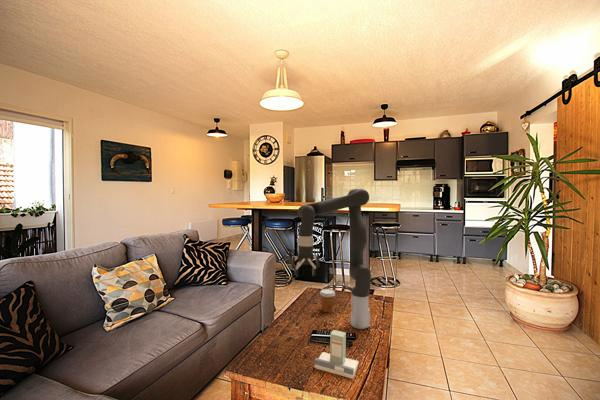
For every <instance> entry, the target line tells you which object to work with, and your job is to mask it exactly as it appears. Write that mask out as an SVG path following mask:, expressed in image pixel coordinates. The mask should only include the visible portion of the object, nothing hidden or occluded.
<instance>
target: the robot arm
mask: <svg viewBox="0 0 600 400" xmlns="http://www.w3.org/2000/svg"><path fill="white" fill-rule="evenodd" d="M369 201H370V194H369V192H368V191H367V190H366V189H363V188H353V189H350V190H349V191H348V193H347V195H344V196H343V195H342V196H338V197H332V198H327V199H324V200H320V201H317V202H313V203H307V204H303V205H301V206H300V207H298V208H297V215H298V216H299V218H301V224H299V229H298V242H297V244H298V248H297V252H298V253H297V255H296V256H295V255H291V264H290V265H291V268H292V269H294V275H295V276H296V278H298V277H299V268H300V267H301V266H305V265H307V266H309V265H311V267H312V268H311V273H312V274H311V275H312V277H315V276H316V273H317V268H320V267H321V266H320V265H321V264H320V256H319V255H318V254H316V255H314V238H313V237H314V232H313V231H314V224H315V218H316V216H321V215H326V214H329V213H330V214H331V213H332V212H336V211H339V210H343V209H347V208H348V215H349V217H348V218H349V242H350V243H349V247H350V248H349V249H350V250H349V252H350V255H349V256H350V258H349V259H350V260H349V275H350V278H351V279H353V280H354V282H355V283H354V285H355V286H354V287H352V288H351V297H350V298H351V302H350V303H351V305H350V307H351V308H350V315H351V316H350V325H351V327H353V328H354V329H358V330H365V329H367V328H369V327H370V324H371V323H370V321H371V319H370V317H371V315H370V314H371V310H370V308H369V296H370V294H369V293H370V291H371V286H372V284H371V280H372V276H371V275H372V273H371V270H370V268H369V267H366V266H365V265H364V261H363V254H364V250H365V248H366V245H367V243H368V236H367V235H368V234H367V233H368V231H367V227H366V223H365V221H364V219H363V216H362V215H363V214H362V206H365V205H366V204H368V203H369ZM297 260H298V261H297ZM313 260H315V263H313ZM296 261H297V262H296ZM295 262H296V264H295Z"/></svg>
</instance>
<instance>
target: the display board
mask: <svg viewBox="0 0 600 400" xmlns="http://www.w3.org/2000/svg"><path fill="white" fill-rule="evenodd" d="M358 367H359V360H357V359H352V358H347V357H345V362H344V364H343V365H340V364H336V363H333V362H330V352H329V353H327V352H324V351H322V352H321V354H320V355H319V356H318V357H315V359H314V369H317V370H320V371H325V372H326V373H327V372H328V373H331V374H334V375H339V376H342V377H346V378H349V379H352V380H353V379H354V377H355V374H356V372H357V370H358Z"/></svg>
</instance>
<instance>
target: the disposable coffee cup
mask: <svg viewBox="0 0 600 400" xmlns="http://www.w3.org/2000/svg"><path fill="white" fill-rule="evenodd" d="M319 295H320V301H321V302H320V303H321V310H322V312H324V313H332V312H333V308H334V302H335V301H334V300H335V296H336V292H335V290H333V289H331V288H323V289H321V290H320V292H319Z"/></svg>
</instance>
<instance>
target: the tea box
mask: <svg viewBox="0 0 600 400" xmlns="http://www.w3.org/2000/svg"><path fill="white" fill-rule="evenodd" d="M346 335H347V333H346V332H344V331H340V330H336V329H333V330H332V331H331V333H330V335H329V336H330V341H329V348H330V349H329V354H330V362H333V363H336V364H340V365H343V364H344V362H345V358H346V354H347V353H346V350H347V348H346V344H347V341H346V340H347V336H346Z"/></svg>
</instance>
